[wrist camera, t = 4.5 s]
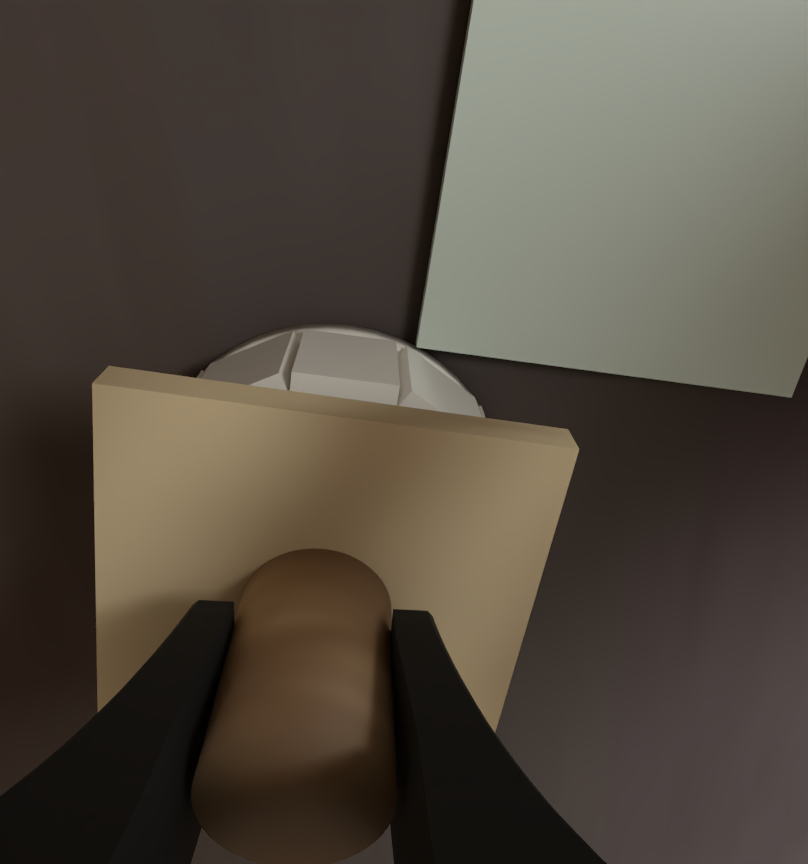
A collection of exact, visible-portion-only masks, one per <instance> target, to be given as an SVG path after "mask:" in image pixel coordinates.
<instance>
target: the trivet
mask: <svg viewBox="0 0 808 864" xmlns="http://www.w3.org/2000/svg"><path fill="white" fill-rule="evenodd" d="M416 347H417V348H424V349H432V350H439V351H447V352H454V353H462V354H469V355H477V356H484V357H492V358H499V359H507V360H514V361H521V362H529V363H536V364H544V365H551V366H559V367H566V368H574V369H581V370H589V371H596V372H604V373H611V374H618V375H626V376H633V377H641V378H648V379H656V380H663V381H671V382H678V383H686V384H693V385H701V386H708V387H715V388H723V389H730V390H738V391H745V392H753V393H760V394H768V395H775V396H783V397H790V398H792V395H793V393H794V390H795V388H796V385H797V383H798V380H799V378H800V375H801V373H802V370H803V367H804V365H805V362H806V360H807V357H808V0H472V1H471V7H470V13H469V19H468V25H467V31H466V38H465V44H464V50H463V56H462V62H461V68H460V74H459V80H458V86H457V92H456V98H455V105H454V111H453V117H452V123H451V129H450V135H449V141H448V147H447V153H446V159H445V166H444V172H443V178H442V184H441V190H440V196H439V202H438V208H437V214H436V220H435V226H434V233H433V239H432V245H431V251H430V257H429V263H428V269H427V275H426V281H425V287H424V294H423V300H422V306H421V312H420V318H419V324H418V330H417V336H416Z"/></svg>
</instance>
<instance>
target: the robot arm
mask: <svg viewBox="0 0 808 864" xmlns="http://www.w3.org/2000/svg"><path fill="white" fill-rule="evenodd" d="M233 629H234V602H231V601H210V600H198V601H197V602H196V603H194V604H193V605H192V606H191V607H190V609H189V610H188V611H187V613H186V614H185V615H184V617H183V618H182V619H181V621H180V622H179V623H178V624H177V626H176V627H175V628H174V629H173V631H172V632H171V633H170V634H169V636H168V637H167V638H166V639H165V640H164V642H163V643H162V644H161V645H160V646H159V648H158V649H157V650H156V651H155V652H154V653H153V655H152V656H151V657H150V658H149V659H148V660H147V661H146V662H145V664H144V665H143V666H142V667H141V668H140V669H139V670H138V671H137V672H136V674H135V675H134V676H133V677H132V678H131V679H130V680H129V681H128V682H127V684H126V685H125V686H124V687H123V688H122V689H121V690H120V691H119V692H118V693H117V694H116V695H115V696H114V697H113V698H112V699H111V700H110V701H109V702H108V703H107V704H106V705H105V706H104V707H103V708H102V709H101V710H100V711H99V712H98V713H97V714H96V715H95V716H94V717H93V718H92V719H91V720H90V721H89V722H88V723H87V724H86V725H85V726H84V727H83V728H81V729H80V730H79V731H78V732H77V733H76V734H75V735H74V736H73V737H72V738H71V739H69V740H68V741H67V742H66V743H65V744H64V745H63V746H62V747H60V748H59V749H58V750H57V751H56V752H55V753H53V754H52V755H51V756H50V757H49V758H48V759H46V760H45V761H44V762H43V763H42V764H41V765H39V766H38V767H37V768H36V769H34V770H33V771H32V772H31V773H29V774H28V775H27V776H26V777H24V778H23V779H22V780H20V781H19V782H18V783H17V784H15V785H14V786H13V787H12V788H10V789H9V790H8V791H6V792H5V793H4V794H3V795H1V796H0V864H191V861H192V857H193V854H194V851H195V847H196V844H197V841H198V837H199V834H200V831H201V825H200V824H199V822H198V820H197V818H196V816H195V814H194V811H193V807H192V803H191V788H192V783H193V779H194V775H195V771H196V767H197V764H198V760H199V756H200V752H201V748H202V745H203V741H204V737H205V733H206V729H207V726H208V722H209V718H210V714H211V711H212V707H213V703H214V699H215V695H216V692H217V688H218V684H219V681H220V677H221V674H222V670H223V667H224V663H225V659H226V655H227V651H228V648H229V644H230V640H231V636H232V632H233ZM391 657H392V680H393V693H394V715H395V748H396V782H397V804H396V810H395V813H394V816H393V819H392V821H391V823H390V825H391V836H392V846H393V856H394V864H607V863H606V862H604V861H603V860H602V859H601V858H600V857H599V856H598V855H597V854H596V853H595V852H594V851H593V850H592V849H591V847H590V846H589V845H588V844H587V843H586V842H585V841H584V840H583V839H582V838H581V837H580V836H579V835H578V834H577V833H576V832H575V831H574V830H573V829H572V828H571V827H570V826H569V825H568V823H567V822H566V821H565V820H564V819H563V818H562V817H561V816H560V815H559V814H558V813H557V812H556V811H555V810H554V809H553V807H552V806H551V805H550V804H549V803H548V801H547V800H546V799H545V798H544V797H543V796H542V794H541V793H540V792H539V791H538V790H537V788H536V787H535V786H534V785H533V784H532V782H531V781H530V780H529V779H528V777H527V776H526V775H525V773H524V772H523V771H522V770H521V768H520V767H519V766H518V765H517V763H516V762H515V761H514V759H513V758H512V756H511V755H510V754H509V752H508V751H507V750H506V748H505V747H504V745H503V744H502V743H501V741H500V740H499V738H498V737H497V735H496V734H495V732H494V731H493V729H492V728H491V726H490V725H489V723H488V722H487V720H486V719H485V717H484V715H483V714H482V712H481V711H480V709H479V707H478V706H477V704H476V702H475V701H474V699H473V697H472V696H471V694H470V692H469V690H468V689H467V687H466V685H465V683H464V682H463V680H462V678H461V676H460V674H459V673H458V671H457V669H456V667H455V665H454V663H453V661H452V659H451V657H450V655H449V653H448V651H447V649H446V647H445V645H444V643H443V640H442V638H441V636H440V634H439V631H438V629H437V626H436V624H435V621H434V618H433V616H432V615H431V614H430V613H429V612H428V611H424V610H402V609H393V614H392V625H391Z"/></svg>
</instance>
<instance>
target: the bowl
mask: <svg viewBox="0 0 808 864" xmlns="http://www.w3.org/2000/svg"><path fill="white" fill-rule="evenodd" d="M196 378H201V379H208V380H215V381H222V382H230V383H237V384H244V385H251V386H259V387H266V388H273V389H280V390H288V391H295V392H302V393H309V394H317V395H324V396H331V397H338V398H346V399H353V400H360V401H367V402H375V403H382V404H389V405H396V406H404V407H411V408H418V409H425V410H433V411H440V412H447V413H454V414H462V415H469V416H476V417H483V418H486V417H485V414H484V412H483V409H482V406H479V405H478V403H477V402H476V399H475V397H474V396H472V394H471V393H470V391H469V390H468V389H467V388H466V387H465V385H464V384H463V383H462V382H461V381H460V380H459V378H458V377H457V376H456V375H455V374H454V373H453V372H451V371H450V370H449V369H448V368H447V367H446V366H445V365H443V364H442V363H441V362H440V361H439V360H437V359H436V358H434V357H433V356H431V355H430V354H428V353H427V352H425V351H424V350H422V349H421V348H417V347H416V346H415V345H413V344H411V343H409V342H407V341H405V340H403V339H401V338H399V337H396V336H393V335H390V334H387V333H384V332H381V331H378V330H375V329H370V328H365V327H360V326H355V325H347V324H333V323H320V324H303V325H297V326H292V327H287V328H281V329H277V330H274V331H271V332H268V333H265V334H262V335H259V336H256V337H254V338H252V339H250V340H248V341H246V342H244V343H241V344H239V345H237V346H235V347H234V348H232V349H231V350H229V351H228V352H226V353H225V354H223V355H222V356H220V357H219V358H217V359H216V360H215V361H214V362H213V363H210V364H209V366H208V367H207V368H206V369H205V370H204V371H203V370H201V372H200V373H199V374H198V376H197V377H196Z"/></svg>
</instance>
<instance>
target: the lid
mask: <svg viewBox="0 0 808 864" xmlns="http://www.w3.org/2000/svg"><path fill="white" fill-rule="evenodd" d="M92 403H93V463H94V523H95V583H96V643H97V702H98V712H99V711H100V710H101V709H102V708H103V707H104V706H105V705H106V704H107V703H108V702H109V701H110V700H111V699H112V698H113V697H114V696H115V695H116V694H117V693H118V692H119V691H120V690H121V689H122V688H123V687H124V686H125V685H126V684H127V682H128V681H129V680H130V679H131V678H132V677H133V676H134V675H135V674H136V672H137V671H138V670H139V669H140V668H141V667H142V666H143V665H144V664H145V662H146V661H147V660H148V659H149V658H150V657H151V656H152V655H153V653H154V652H155V651H156V650H157V649H158V648H159V646H160V645H161V644H162V643H163V642H164V640H165V639H166V638H167V637H168V636H169V634H170V633H171V632H172V631H173V629H174V628H175V627H176V626H177V624H178V623H179V622H180V621H181V619H182V618H183V617H184V615H185V614H186V613H187V611H188V610H189V609H190V607H191V606H192V605H193V604H194V603H196V602H197V601H198V600H210V601H231V602H234V629H233V632H232V636H231V640H230V644H229V648H228V651H227V655H226V659H225V663H224V667H223V670H222V674H221V677H220V681H219V684H218V688H217V692H216V695H215V699H214V703H213V707H212V711H211V714H210V718H209V722H208V726H207V729H206V733H205V737H204V741H203V745H202V748H201V752H200V756H199V760H198V764H197V767H196V771H195V775H194V779H193V783H192V788H191V803H192V807H193V811H194V814H195V816H196V818H197V820H198V822H199V824H200V825H201V827H202V828H203V829H204V831H205V832H206V833H207V834H208V835H209V836H210V837H211V838H212V839H213V840H214V841H216V842H217V843H218V844H219V845H221V846H222V847H224V848H225V849H227V850H229V851H230V852H232V853H234V854H236V855H238V856H241V857H243V858H246V859H248V860H251V861H255V862H258V863H262V864H329V863H334V862H337V861H340V860H343V859H346V858H348V857H350V856H353V855H355V854H357V853H359V852H361V851H362V850H364V849H366V848H367V847H368V846H370V845H371V844H372V843H374V842H375V841H376V840H377V839H378V838H379V837H380V836H381V835H382V834H383V833H384V832H385V830H386V829H387V828H388V826H389V824H390V823H391V821H392V819H393V816H394V813H395V810H396V804H397V782H396V748H395V715H394V693H393V680H392V657H391V625H392V614H393V609H402V610H424V611H428V612H429V613H430V614H431V615H432V616H433V618H434V621H435V624H436V626H437V629H438V631H439V634H440V636H441V638H442V640H443V643H444V645H445V647H446V649H447V651H448V653H449V655H450V657H451V659H452V661H453V663H454V665H455V667H456V669H457V671H458V673H459V674H460V676H461V678H462V680H463V682H464V683H465V685H466V687H467V689H468V690H469V692H470V694H471V696H472V697H473V699H474V701H475V702H476V704H477V706H478V707H479V709H480V711H481V712H482V714H483V715H484V717H485V719H486V720H487V722H488V723H489V725H490V726H491V728H492V729H493V731H494V732H495V731H496V728H497V725H498V721H499V718H500V715H501V711H502V708H503V704H504V701H505V698H506V694H507V691H508V688H509V684H510V681H511V678H512V674H513V671H514V667H515V664H516V661H517V657H518V654H519V651H520V647H521V644H522V641H523V637H524V634H525V630H526V627H527V624H528V620H529V617H530V614H531V610H532V607H533V603H534V600H535V597H536V593H537V590H538V587H539V583H540V580H541V577H542V573H543V570H544V566H545V563H546V560H547V556H548V553H549V550H550V546H551V543H552V540H553V536H554V533H555V529H556V526H557V523H558V519H559V516H560V513H561V509H562V506H563V503H564V499H565V496H566V492H567V489H568V486H569V482H570V479H571V476H572V472H573V469H574V465H575V462H576V459H577V455H578V452H579V448H578V446H577V444H576V442H575V441H574V439H573V437H572V435H571V434H570V432H569V430H568V429H563V428H556V427H549V426H541V425H534V424H527V423H520V422H512V421H505V420H498V419H491V418H483V417H476V416H469V415H462V414H454V413H447V412H440V411H433V410H425V409H418V408H411V407H404V406H396V405H389V404H382V403H375V402H367V401H360V400H353V399H346V398H338V397H331V396H324V395H317V394H309V393H302V392H295V391H288V390H280V389H273V388H266V387H259V386H251V385H244V384H237V383H230V382H222V381H215V380H208V379H201V378H193V377H186V376H179V375H172V374H164V373H157V372H150V371H143V370H135V369H128V368H121V367H114V366H108V367H107V368H106V369H105V370H104V371H103V373H102V374H101V375H100V376H99V377H98V378H97V379H96V380H95V381H94V382H93V383H92Z"/></svg>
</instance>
